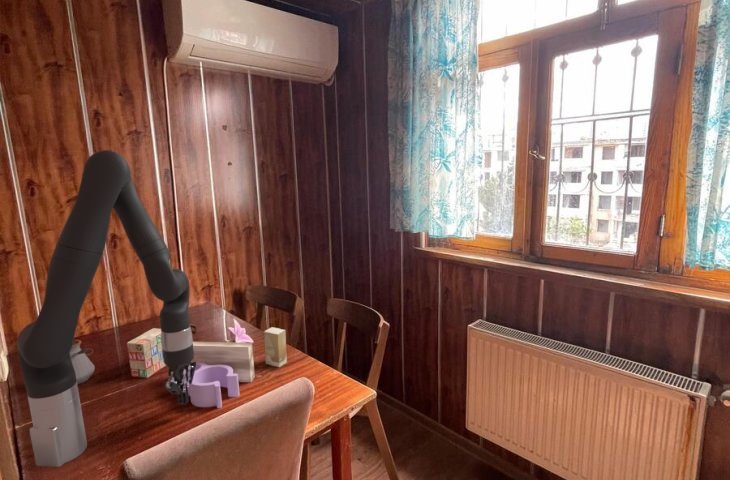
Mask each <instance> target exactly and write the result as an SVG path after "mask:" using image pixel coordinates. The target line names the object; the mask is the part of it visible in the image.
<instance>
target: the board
mask: <svg viewBox="0 0 730 480" xmlns="http://www.w3.org/2000/svg"><path fill="white" fill-rule="evenodd" d="M193 349H194V358H193V359H192V360H191V362H197V361H198V362H204V363H205V364H207V365H228V366H230V367H231V368H232V369H233V374H238V382H239V383H252V382H253V381H254V379H255V378H256V376H255V375H256V374H255V365H254V351H253V343H252V342H246V343H242V342H240V343H236V342H233V341H231V342H229V341H225V342H223V341H217V342H216V341H193Z"/></svg>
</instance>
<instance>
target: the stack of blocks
mask: <svg viewBox="0 0 730 480" xmlns="http://www.w3.org/2000/svg"><path fill="white" fill-rule="evenodd" d="M126 346H127V355H128V360H129V366H130V375H131V377H134V378H144V379H145V378H147V379H148V378H149V377H151V376H152V375H154V374H155V373H156V372H158V371H160V370H162V368H164V367H166V365H165V364H164V361H163V352H162V343H161V328H155V327H153V328H151V329H150V330H147V331H146V332H143V333H142V334H141V335H139V336H137V337H134V338H133V339H131V340H130V341H128V342H126Z"/></svg>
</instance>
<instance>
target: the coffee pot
mask: <svg viewBox="0 0 730 480" xmlns="http://www.w3.org/2000/svg"><path fill="white" fill-rule="evenodd" d="M81 344H82V341H81V340H80V339H74V340H73V345H72V348H71V350H70V357H71V361H72V364H73V367H74V370H75V374H76V380H77V386H78V385H80V384H82V383H85V382H86V381H88V379H90V377H91V376H92V375H93V374H94V372H95V365H94V363H93V362H92V361H91V360H90V358H89V357H88V355H87V354H86V353H87V352H89V350H90V348H89V347H85V348H83V349H82V348H81V347H80V346H81ZM91 350H92V352H91V353H90V355H91V354H93V352H94V350H93V349H91Z"/></svg>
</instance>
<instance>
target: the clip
mask: <svg viewBox="0 0 730 480" xmlns="http://www.w3.org/2000/svg"><path fill="white" fill-rule="evenodd" d="M239 385H240V382H238V374H233V369H232V368H231V367H230V366H228V365H207V364H205V363H204V362H198V361H197V362H196V368H195V372H194V376H193V381H192V384H189V389H188V396H189V397H190V402H191V404H192V405H193V406H195V407H198V408H211V407H216V408H217V409H221V408H222V407H223V402H222V392H221V388H226V389H227V396H228V398H238V397H240V386H239Z"/></svg>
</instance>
